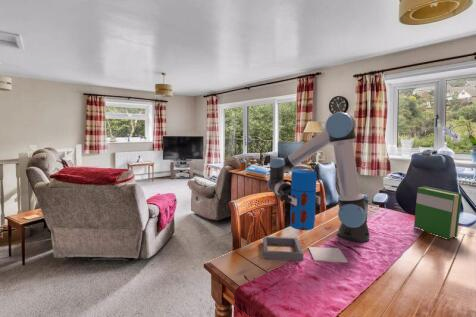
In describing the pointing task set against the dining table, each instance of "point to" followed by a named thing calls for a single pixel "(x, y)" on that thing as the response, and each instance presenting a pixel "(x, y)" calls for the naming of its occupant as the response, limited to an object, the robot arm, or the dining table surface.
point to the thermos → (303, 199)
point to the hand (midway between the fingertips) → (308, 201)
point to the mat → (327, 254)
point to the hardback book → (438, 211)
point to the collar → (281, 254)
